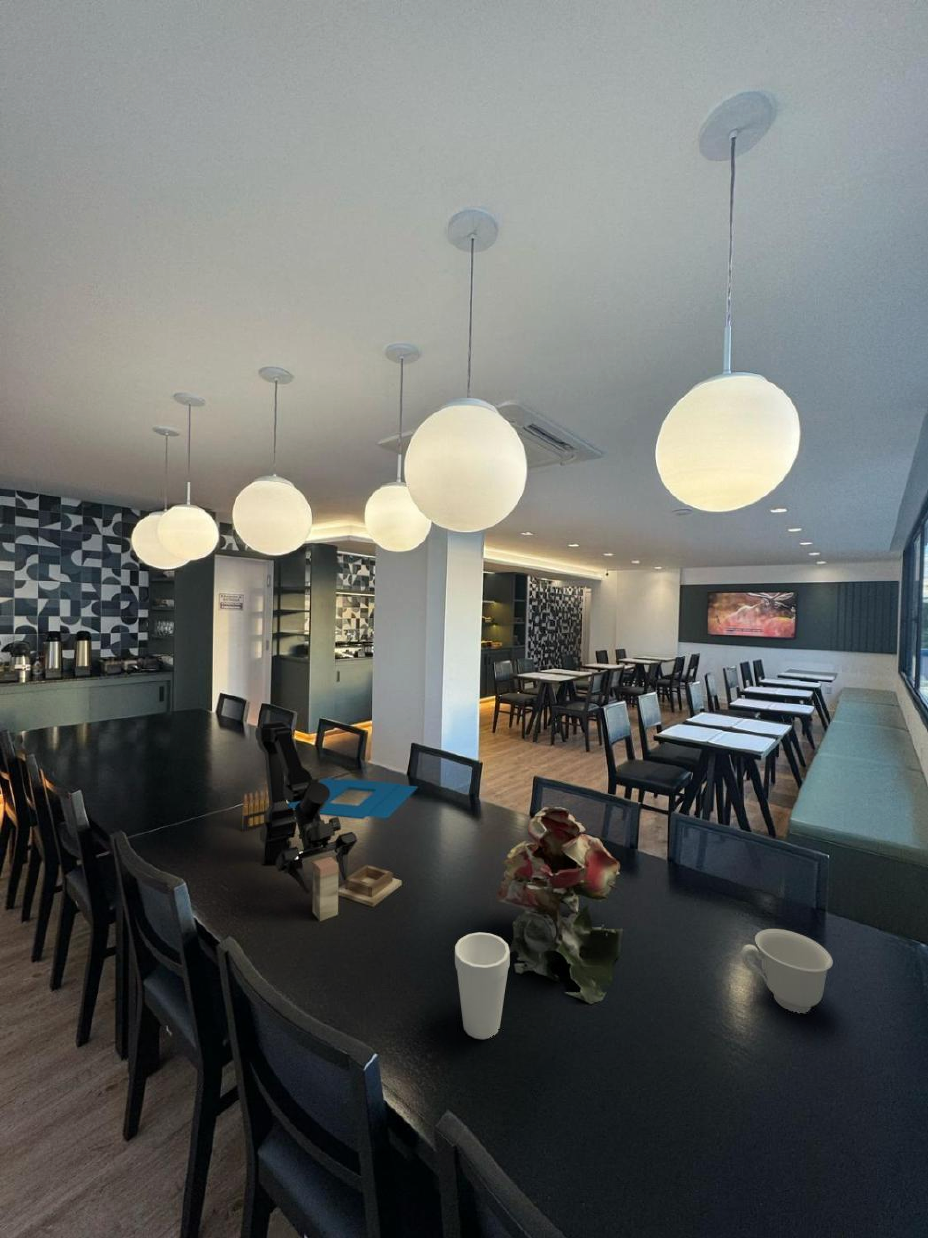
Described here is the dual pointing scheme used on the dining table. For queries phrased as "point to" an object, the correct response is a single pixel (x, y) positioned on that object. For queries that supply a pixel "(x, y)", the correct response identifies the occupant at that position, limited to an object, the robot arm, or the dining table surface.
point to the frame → (375, 805)
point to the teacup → (790, 967)
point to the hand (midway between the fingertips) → (327, 885)
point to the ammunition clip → (254, 811)
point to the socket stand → (369, 885)
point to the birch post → (325, 888)
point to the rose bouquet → (561, 901)
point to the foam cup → (482, 981)
